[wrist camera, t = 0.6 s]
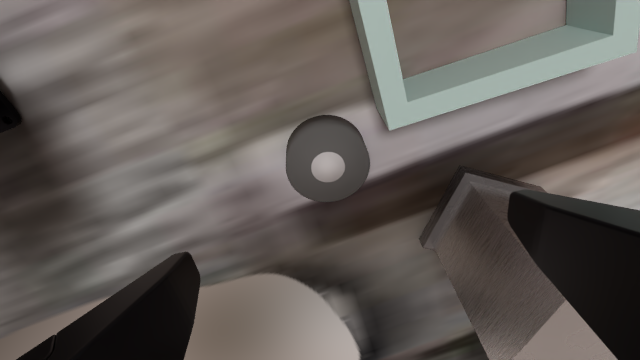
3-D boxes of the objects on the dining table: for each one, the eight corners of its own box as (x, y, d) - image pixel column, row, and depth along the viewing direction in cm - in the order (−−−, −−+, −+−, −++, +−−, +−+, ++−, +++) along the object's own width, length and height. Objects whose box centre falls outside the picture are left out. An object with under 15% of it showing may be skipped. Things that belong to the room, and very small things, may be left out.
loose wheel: (301, 194, 25) (302, 212, 23) (274, 130, 23) (272, 144, 21) (372, 172, 25) (378, 189, 23) (352, 104, 22) (357, 116, 20)
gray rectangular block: (419, 238, 28) (484, 381, 18) (459, 165, 25) (562, 290, 15) (493, 254, 29) (589, 395, 20) (540, 186, 26) (682, 314, 16)
